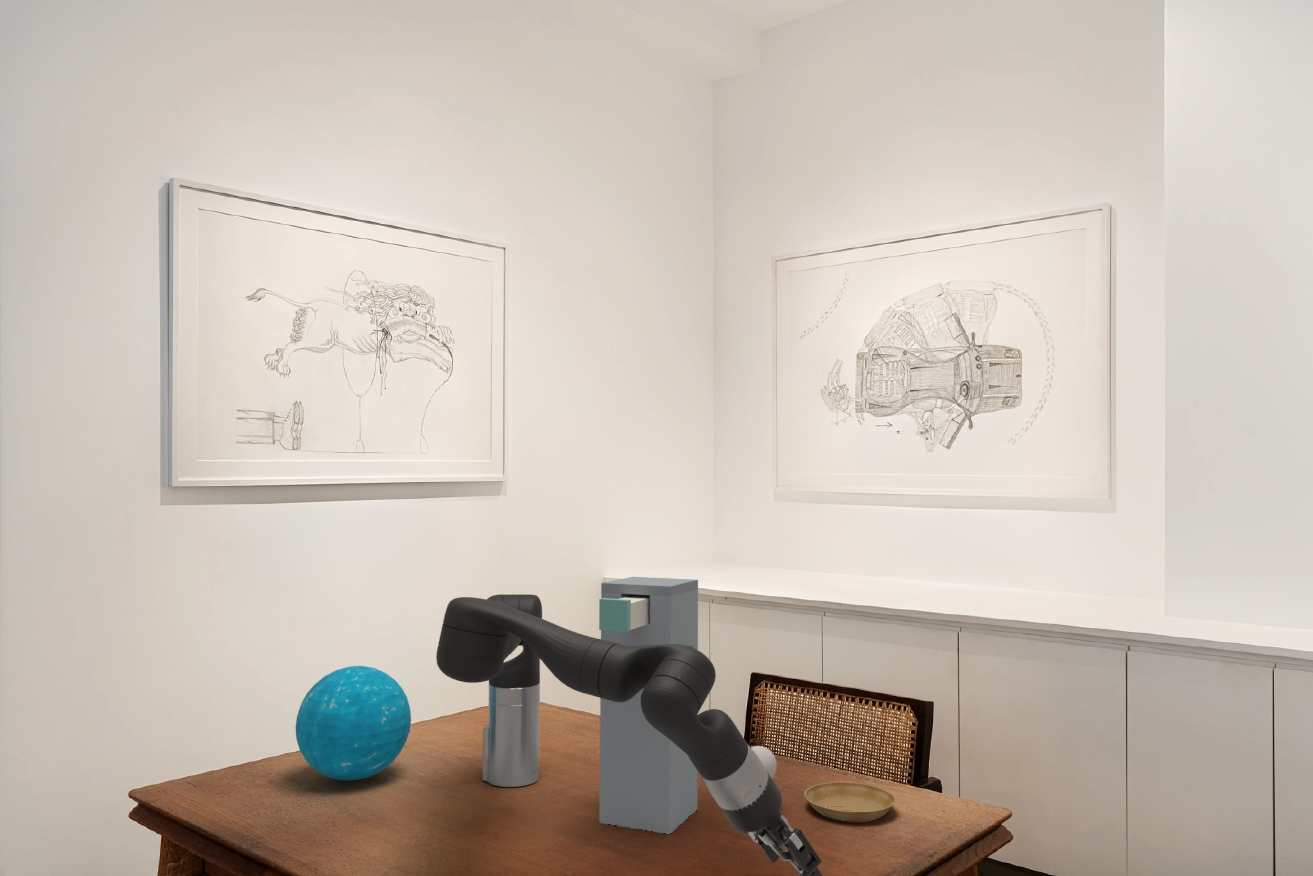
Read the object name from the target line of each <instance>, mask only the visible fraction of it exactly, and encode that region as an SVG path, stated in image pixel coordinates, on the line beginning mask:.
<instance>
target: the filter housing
mask: <svg viewBox="0 0 1313 876" xmlns="http://www.w3.org/2000/svg"><path fill="white" fill-rule="evenodd" d="M600 587H601V588H600V589H601V591H600V593H601V598H600V599H602V598H609V599H620V598H624V597H628V596H632V595H636V594H638V595H650V624H647V625H644V626H641V627H638V628H635V629H632V630H630V631H628V632H621V631H607V630H600V639H601V640H606V641H610V642H614V643H618V644H622V645H625V646H639V645H663V644H677V645H684V646H688V647H691V648H694V649H696V650H698V651H699V580H698V579H694V578H693V579H691V578H688V579H687V578H669V577H667V578H666V577H646V576H629V577H624V578H619V579H615V580H610V581H603V582H601V586H600ZM643 690H644V688H643V689H642V690H640V691H639V692H638V693H637V694H636V695H635V696H634V697H632V698H631V699H630V700H628V701H626V702H614V701H610V700H606V699H603V698H599V701H600V703H599V705H600V708H599V709H600V715H599V717H600V718H599V719H600V721H599V722H600V723H599V730H600V731H599V813H598V814H599V818H598V819H599V821H598V822H599V824H603V825H608V824H611V825H610V826H614V825H617V826H616V827H621V828H627V829H628V827H629V829H633V830H634V829H635V830H639V829H642V830H641V831H645V830H647V831H646V832H651V831H653V833H658V834H663V833H666V834H665V835H669V834H670V833H671V834H673V832H674V831H675V830H676V829H678V828H679V827H680V826H681V825H682V824H683V823H685V821H687V820H686V819H689V818H690V817H691V816H692V815H693V814H694V813H696V812H697V811H698V797H699V796H698V791H699V790H698V774H699V772H698V770H697V769H696V767H695V766H694V764H693V763H692V761H691V760H690V758H689V757H688V755H687V754H686V753H685V752H684V751H682V750H681V749H680V748H679V747H678V746H676V745H675V744H674V743H673V742H672V741H671V740H669V739H668V738H667V737H666V736H664V735H663V734H662V733H660V732H659V731H658V730H656V729H655V728H654V727H653V726H651V725H650V724H649V722H648V721H647V720H646V718H645V717H644V715H643V712H642V709H641V694H642V692H643ZM696 810H697V811H696ZM690 815H691V816H690ZM689 816H690V817H689ZM688 817H689V818H688ZM680 824H681V825H680ZM679 825H680V826H679ZM678 826H679V827H678ZM677 827H678V828H677ZM671 834H670V835H671Z"/></svg>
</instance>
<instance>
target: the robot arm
mask: <svg viewBox="0 0 1313 876" xmlns="http://www.w3.org/2000/svg"><path fill="white" fill-rule="evenodd" d="M438 639H439V640H438V643H437V644H438V645H437V649H436V656H435V657H436V664H437V665H436V666H437V667H438V669H439V670H440V671H441V672H442V673H443V674H444V676H446V677H448V678H450V679H452V680H455V681H458V682H461V683H469V684H476V683H484V682H487V681H488V711H487V712H488V721H487V722H488V723H487V725H485V726H484V727H483V732H482V733H483V735H482V736H483V739H482V740H483V741H482V742H483V743H482V748H483V749H482V781H484V782H487V783H489V784H490V785H493V786H497V787H504V788H513V787H514V788H516V787H517V788H518V787H523V786H528V785H533V784H534V783H536V782H537V781H539V779H540V778H539V774H540V772H539V771H540V723H541V722H540V720H541V719H540V711H541V710H540V707H541V706H540V704H541V703H540V702H541V700H540V699H541V696H540V695H541V683H540V682H541V661H542V663H543V665H545V666H546V668H547V669H548V670H549V671H550V673H552V675H553V676H554V677H555V678H556V679H557V680H558V681H559V682H561V684H563V685H565V686H566V687H568V688H570V689H571V690H574V691H577V692H579V693H581V694H585V695H589V696H593V697H596V698H599V699H600V698H603V699H606V700H610V701H614V702H626V701H628V700H630V699H631V698H632V697H634V696H635V695H636V694H637V693H638V692H639V691H640V690H642V689H643V688H644V690H643V692H642V694H641V709H642V712H643V715H644V717H645V718H646V720H647V721H648V722H649V724H650V725H651V726H653V727H654V728H655V729H656V730H658V731H659V732H660V733H662V734H663V735H664V736H666V737H667V738H668V739H669V740H671V741H672V742H673V743H674V744H675V745H676V746H678V747H679V748H680V749H681V750H682V751H684V752H685V753H686V754H687V755H688V757H689V758H690V760H691V761H692V763H693V764H694V766H695V767H696V769H697V770H698V774H699V775H700V777H701V778H702V780H703V781H704V782H703V783H704V784H705V786H706V788H707V791H708V792H709V793H710V795H711V796H712V798H713V799H714V801H715V803H716V804H717V805H718V807H719V809H720V810H721V811H722V813H723V815H724V816H725V817H726V819H727V820H728V821H729V823H730V825H731V826H732V827H733V829H735V830H737V831H738V832H742V833H744V834H745V835H747V836H748V835H749V837H751V839H752V841H753V842H754V843H755V844H758V845H759V847H760V849H761V850H762V852H763V853H764V855H765V856H766V858H767V859H768V861H770V862H771V863H776V862H777V861H778V860H779V858H780V859H781V860H782V861H783V862H786V861H788V862H789V863H790V864H791V866H793V867H794V869H795V870H796V871H797V873H798V874H799V875H800V876H823V874H822V873H821V871H820V870H819V868H818V866H819V865H820V864H821V863H822V860H821V858H820V857H819V855H818V854H817V853H816V851H815V849H814V848H813V847H812V845H811V843H810V842H809V840H808V839H807V838H806V835H804V833H803V831H802V829H801V828H798V827H795V828H794V829H793V827H791V825H790V824H789V820H788V819H787V818H786V817H785V816H784V815H783V814H782V812H781V808H782V804H783V796H782V793H781V790H780V788H779V787H778V785H777V784H776V782H775V781H774V779H773V778H771V776H770V775H769V773H768V772H767V770H766V769H765V767H764V765H763V764H762V762H761V761H760V759H759V758H758V756H757V755H756V753H755V752H754V751H753V750H752V749H751V746H750V745H749V744H748V743H747V741H746V739H745V738H744V737H743V735H742V732H740V730H739V728H738V727H737V725H736V724H735V722H734V721H733V720H732V718H731V717H730V716H729V715H728V714H727V713H726V712H724V711H723V710H720V709H717V708H713V709H712V708H710V709H706V710H704V711H702V712H700V710H701V708H703V705H704V704H705V701H706V699H707V698H708V695H710V693H711V691H712V689H713V687H714V684H715V681H716V677H717V674H716V668H715V666H714V664H713V663H712V661H711V660H710V658H709V657H707V655H705V654H704V653H703V652H702V651H700V650H699V649H698V650H696V649H694V648H691V647H688V646H684V645H677V644H663V645H639V646H625V645H622V644H618V643H614V642H610V641H606V640H601V638H597V637H593V636H589V635H585V634H581V633H578V632H576V631H573V630H570V629H567V628H565V627H563V626H560V625H557V624H555V623H554V622H551V621H549V620H546V619H543V605H542V601H541V599H540V597H539V595H536V594H530V593H529V594H525V593H524V594H514V593H513V594H511V593H510V594H494V595H491V596H489V597H488V598H487V599H485V598H479V597H474V596H473V597H472V596H471V597H470V596H461V597H455V598H453V599H451V600H450V601H449V602H448V603H447V606H446V608H445V613H444V617H443V622H442V625H441V631H440V635H439V638H438ZM519 646H520V647H522V651H521V653H519V654H518V655H516V656H515V657H513V658H512V659H509V660H507V661H505V660H506V659H507V658H508V657H509V655H511V654H513V652H514V651H516V649H517V648H518V647H519ZM699 712H700V713H699ZM783 847H785V851H784V849H783Z"/></svg>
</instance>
